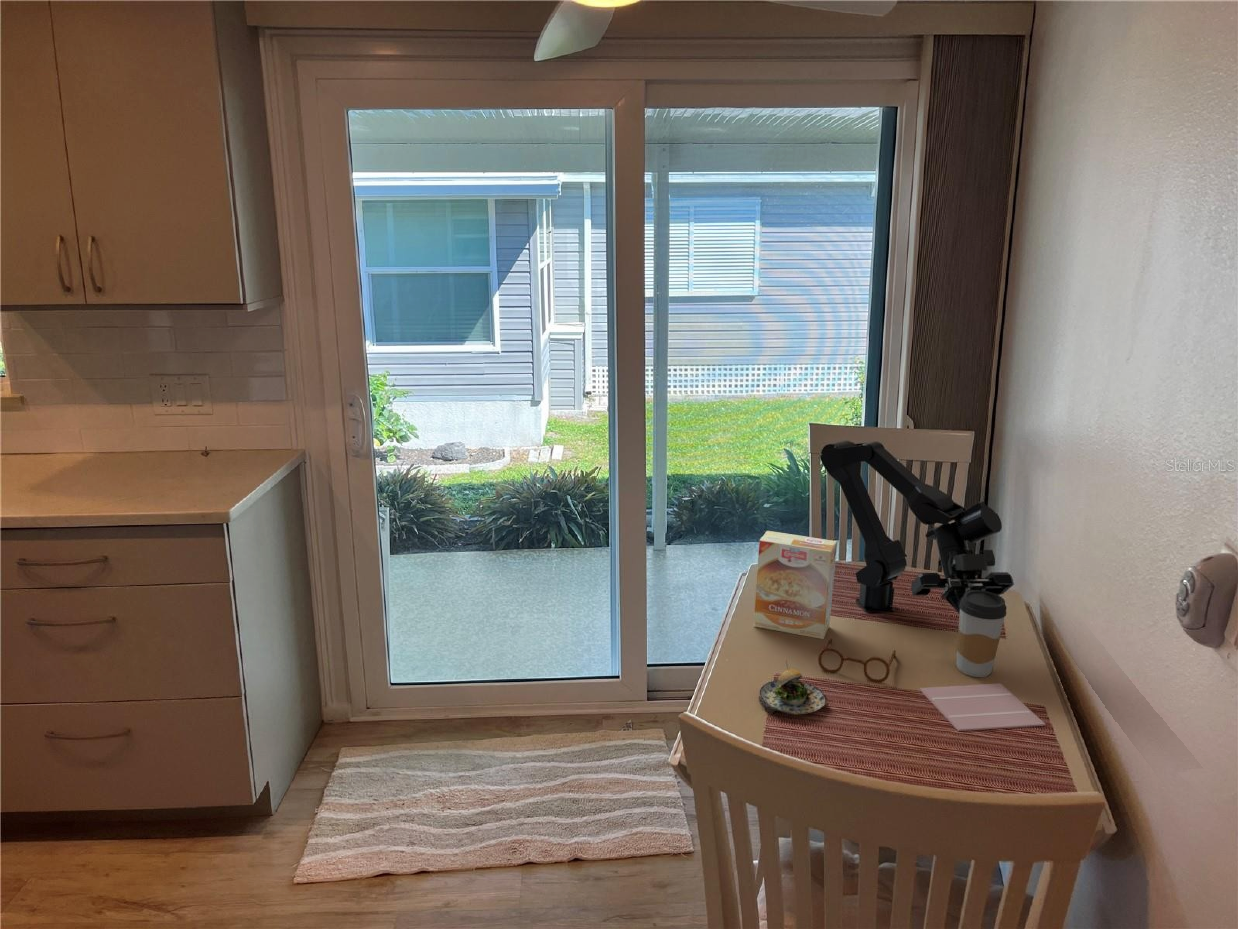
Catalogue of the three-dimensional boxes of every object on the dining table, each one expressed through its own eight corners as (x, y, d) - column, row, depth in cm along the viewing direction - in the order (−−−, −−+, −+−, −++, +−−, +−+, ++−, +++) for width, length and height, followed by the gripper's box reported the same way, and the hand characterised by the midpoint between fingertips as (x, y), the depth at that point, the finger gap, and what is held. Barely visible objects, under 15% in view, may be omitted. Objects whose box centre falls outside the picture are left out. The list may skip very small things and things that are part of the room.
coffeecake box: (752, 627, 189) (758, 539, 183) (760, 614, 195) (766, 529, 190) (824, 640, 183) (832, 551, 178) (829, 626, 190) (837, 539, 184)
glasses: (816, 671, 171) (818, 648, 170) (829, 644, 183) (831, 621, 181) (887, 687, 166) (890, 662, 165) (896, 657, 178) (899, 634, 176)
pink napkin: (957, 731, 151) (958, 729, 151) (919, 689, 164) (919, 687, 164) (1045, 725, 153) (1045, 723, 153) (1000, 685, 167) (1000, 683, 167)
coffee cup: (995, 663, 175) (1006, 592, 170) (998, 684, 167) (1009, 611, 163) (950, 655, 177) (960, 586, 173) (950, 676, 170) (960, 604, 165)
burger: (766, 722, 153) (769, 683, 151) (751, 688, 164) (754, 651, 162) (835, 721, 154) (838, 682, 152) (815, 687, 165) (819, 650, 163)
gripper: (922, 534, 174) (939, 610, 166) (1015, 534, 175) (1037, 609, 167) (903, 558, 183) (918, 631, 176) (992, 557, 185) (1010, 630, 177)
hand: (971, 625), depth 174 cm, fingers closed
